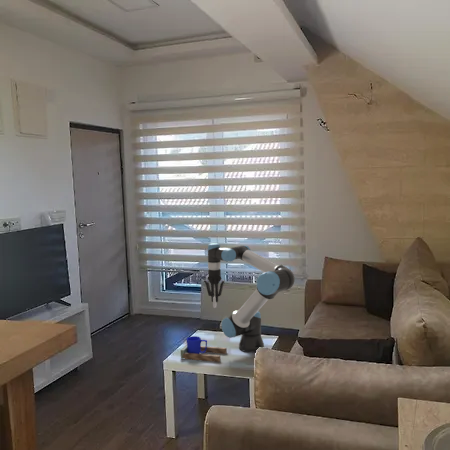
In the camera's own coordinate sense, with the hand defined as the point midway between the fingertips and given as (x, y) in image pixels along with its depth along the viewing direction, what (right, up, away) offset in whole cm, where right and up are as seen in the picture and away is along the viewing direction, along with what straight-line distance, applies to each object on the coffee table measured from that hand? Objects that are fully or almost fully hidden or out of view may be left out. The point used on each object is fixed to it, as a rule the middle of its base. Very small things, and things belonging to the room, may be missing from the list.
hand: (215, 307), depth 287 cm
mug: (-10, -26, -13) cm, 31 cm away
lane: (-6, -26, -14) cm, 30 cm away
